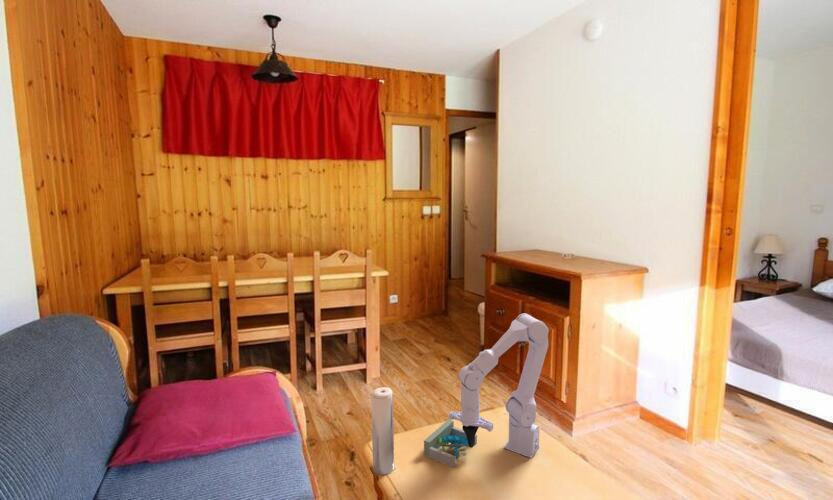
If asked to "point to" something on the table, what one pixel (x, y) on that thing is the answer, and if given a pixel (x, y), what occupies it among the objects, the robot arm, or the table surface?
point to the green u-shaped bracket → (433, 445)
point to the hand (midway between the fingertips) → (470, 445)
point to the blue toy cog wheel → (453, 442)
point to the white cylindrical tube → (382, 431)
